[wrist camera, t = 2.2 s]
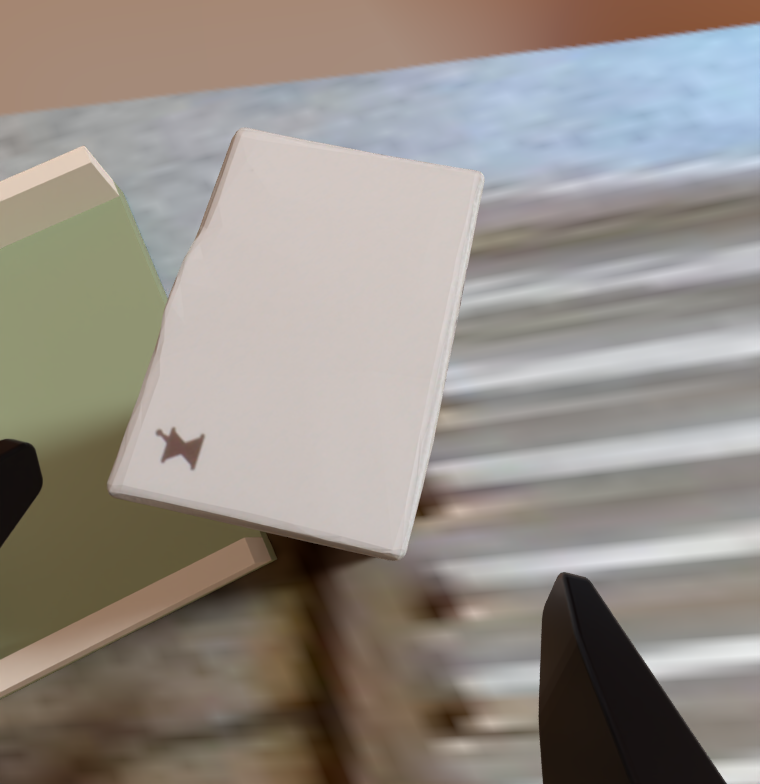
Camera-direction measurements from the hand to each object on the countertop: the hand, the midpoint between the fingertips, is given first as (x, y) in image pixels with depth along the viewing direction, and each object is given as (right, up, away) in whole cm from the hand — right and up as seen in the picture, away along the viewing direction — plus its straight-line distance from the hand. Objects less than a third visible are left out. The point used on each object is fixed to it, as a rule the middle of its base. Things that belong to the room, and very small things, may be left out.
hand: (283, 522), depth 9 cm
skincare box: (+1, 0, +10) cm, 10 cm away
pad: (-10, +1, +11) cm, 15 cm away
